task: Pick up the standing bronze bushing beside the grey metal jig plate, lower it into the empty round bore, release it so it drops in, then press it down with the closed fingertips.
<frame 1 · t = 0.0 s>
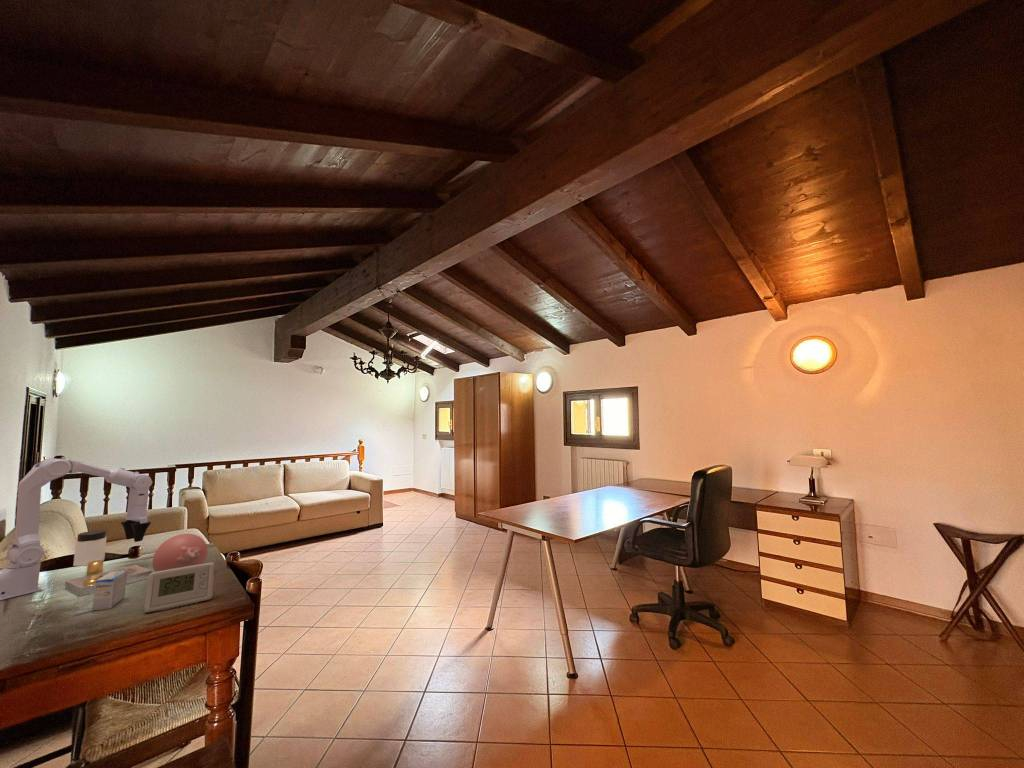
hand: (134, 540, 156), 10 cm above the table, fingers open, 7 cm apart
bushing: (93, 579, 142), on the table
jar: (89, 563, 159), on the table
jig: (109, 583, 138), on the table
digital clock: (179, 605, 120), on the table
pink oval ball: (180, 580, 140), on the table
medicine box: (108, 605, 120), on the table
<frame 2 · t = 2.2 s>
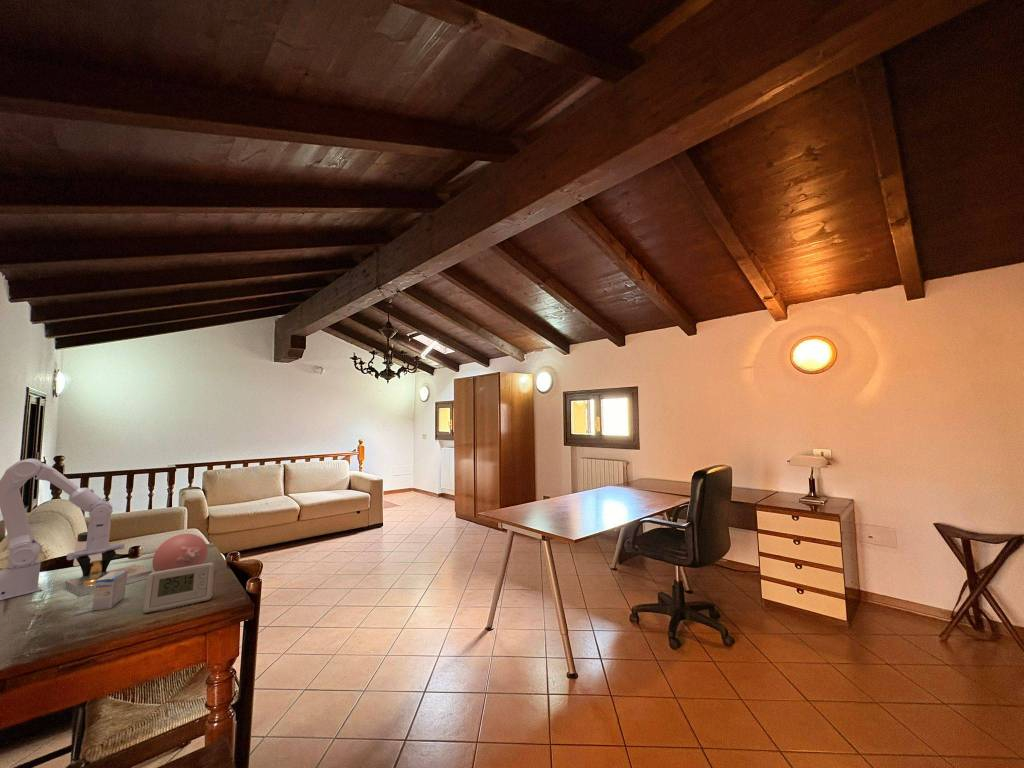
hand: (94, 574, 142), 1 cm above the table, fingers closed on bushing, 4 cm apart
bushing: (93, 579, 142), on the table, touching gripper
everything else where it was.
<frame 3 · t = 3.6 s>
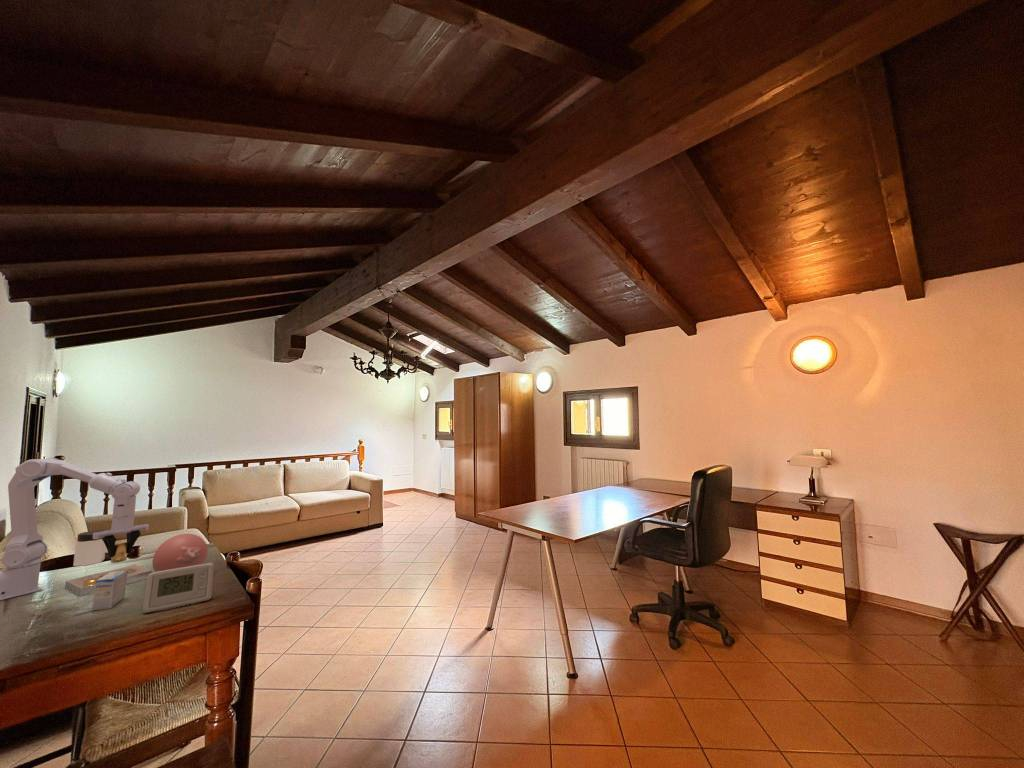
hand: (119, 555, 140), 9 cm above the table, fingers closed on bushing, 4 cm apart
bushing: (118, 561, 140), point 7 cm above the table, touching gripper
everything else where it was.
when the fingers open (4 cm above the table, at t = 5.3 s): bushing drops 2 cm, resting in jig.
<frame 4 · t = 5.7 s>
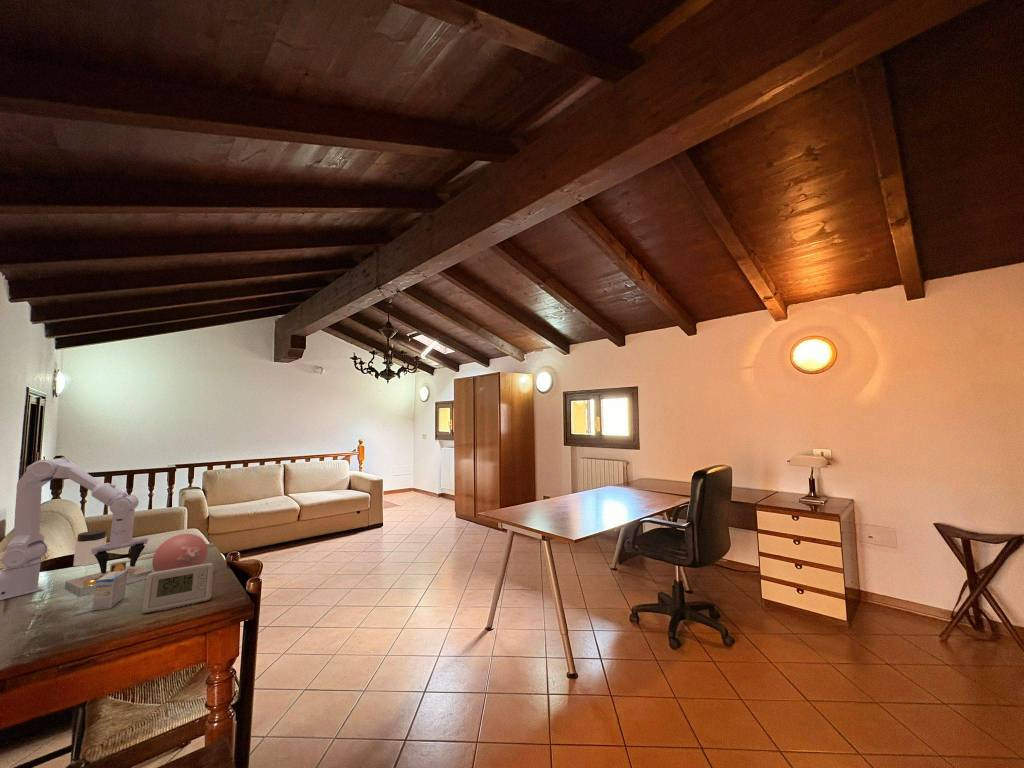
hand: (118, 569, 140), 4 cm above the table, fingers open, 7 cm apart
bushing: (116, 581, 139), resting in jig
everything else where it was.
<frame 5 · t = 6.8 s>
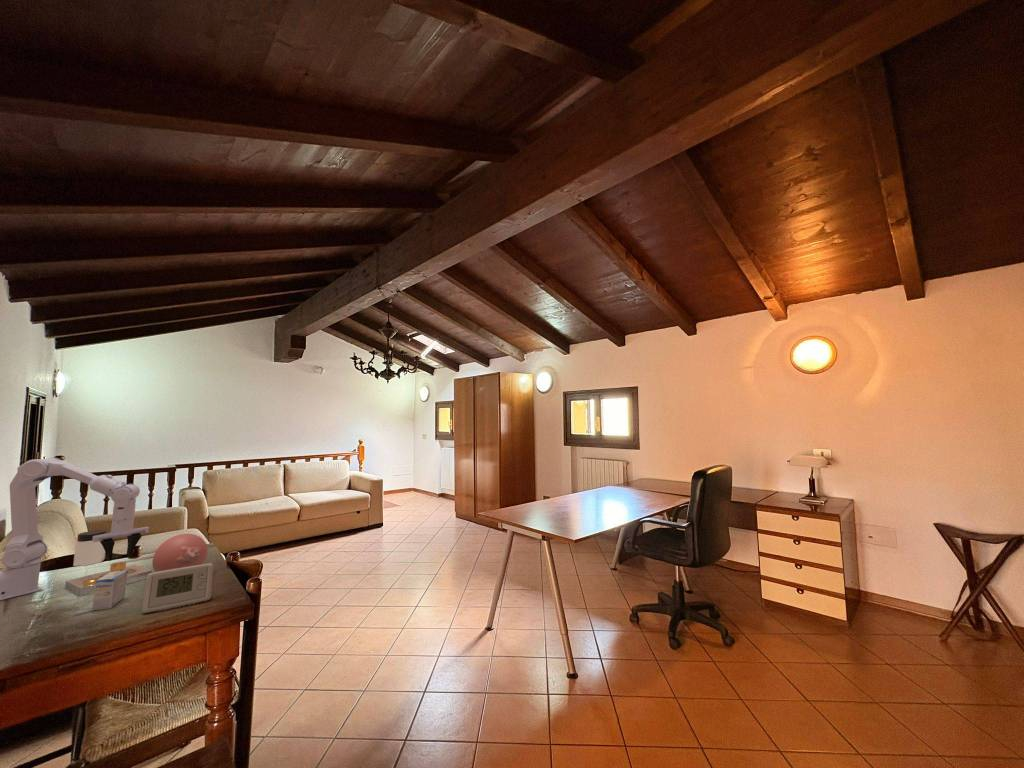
hand: (119, 558, 140), 8 cm above the table, fingers open, 5 cm apart
nothing on the table moved.
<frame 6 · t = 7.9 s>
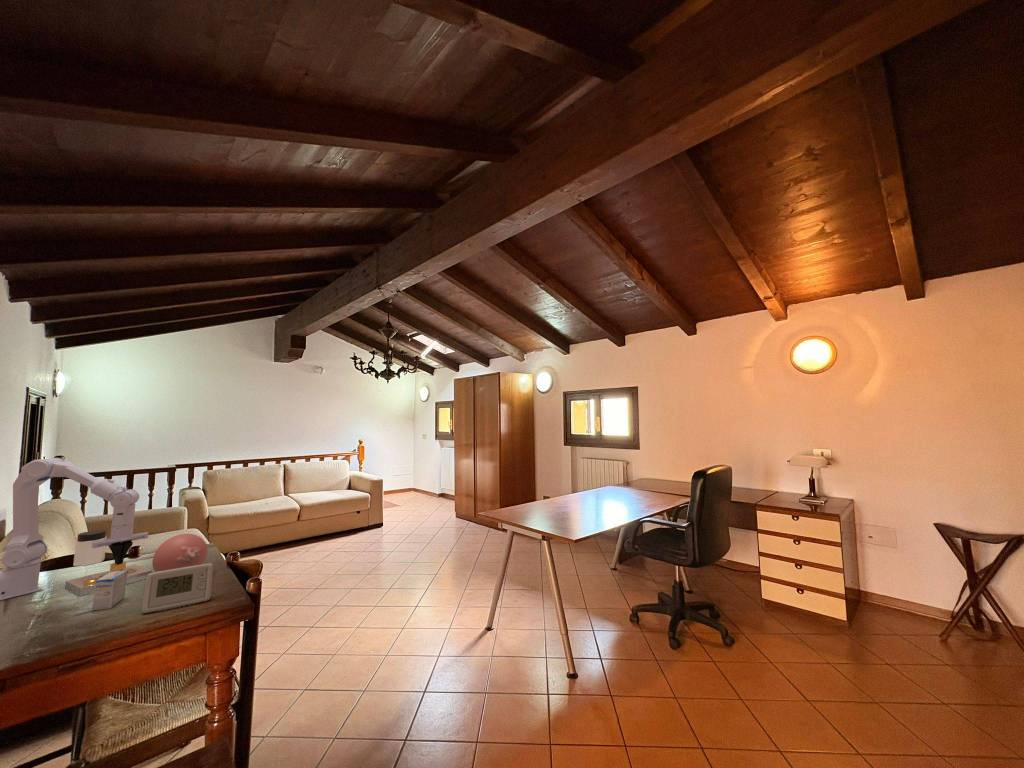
hand: (118, 563, 140), 6 cm above the table, fingers closed, pressing on bushing
bushing: (116, 581, 139), resting in jig, touching gripper
everything else where it was.
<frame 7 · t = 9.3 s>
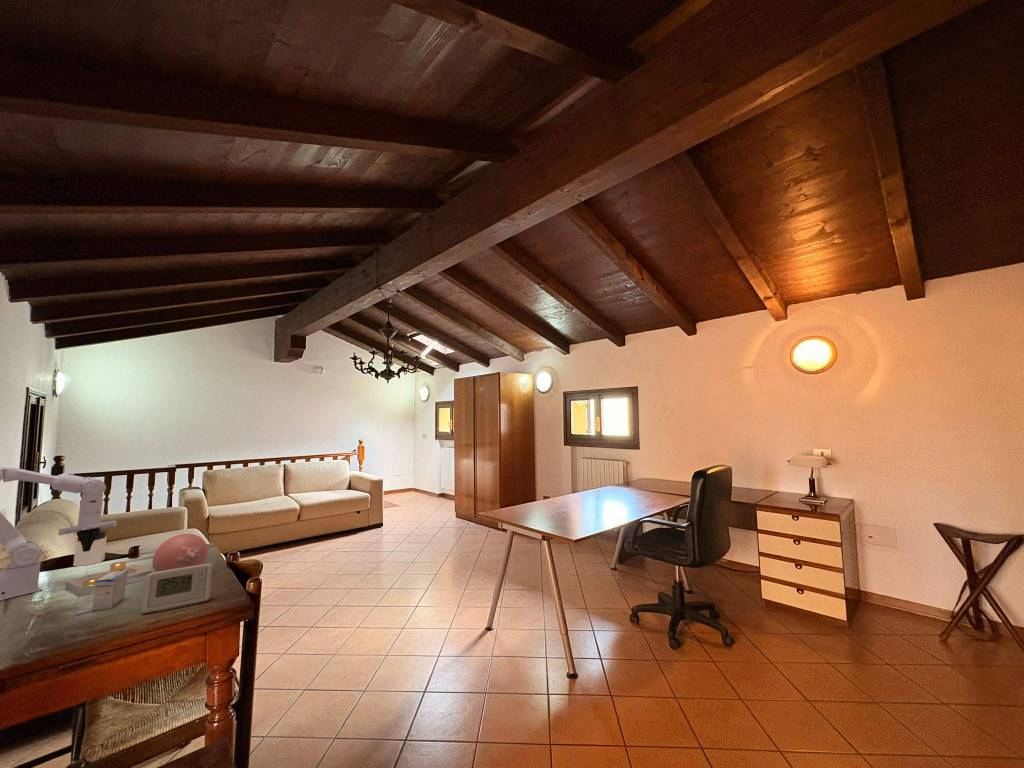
hand: (86, 551, 142), 10 cm above the table, fingers closed
bushing: (116, 581, 139), resting in jig
everything else where it was.
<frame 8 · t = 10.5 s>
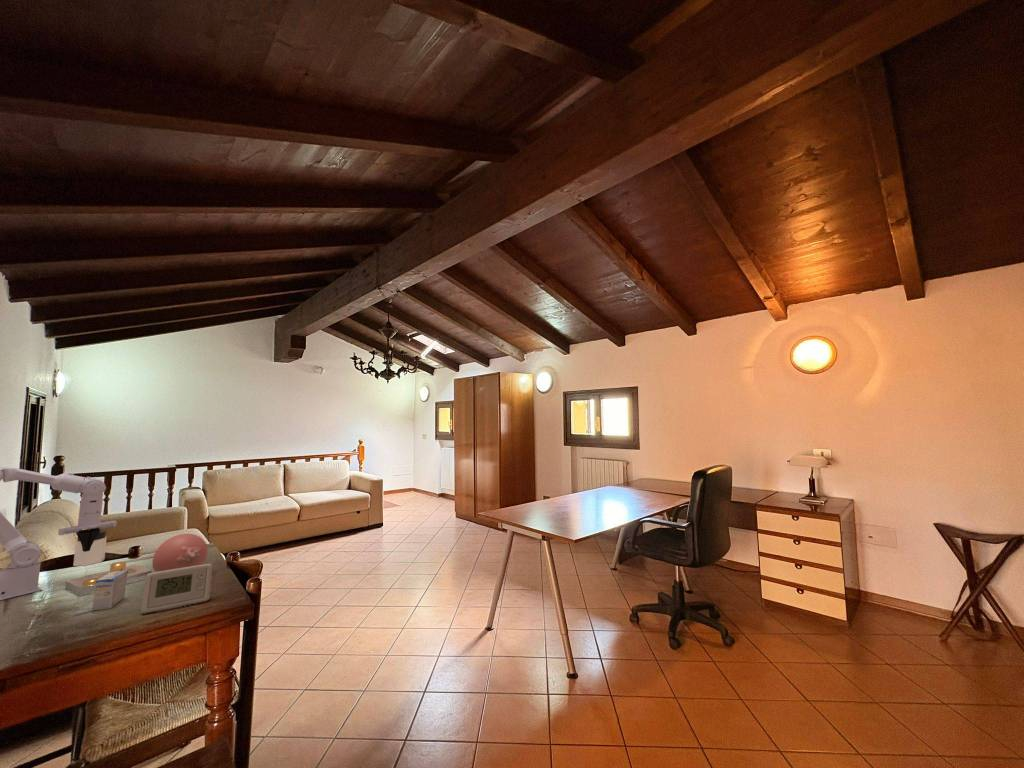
hand: (86, 550, 142), 10 cm above the table, fingers closed
nothing on the table moved.
at the end: bushing 0.3 cm from the target spot on the jig, point 0.0 cm above the jig's base; bushing tilted 0°; the gripper is holding nothing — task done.
